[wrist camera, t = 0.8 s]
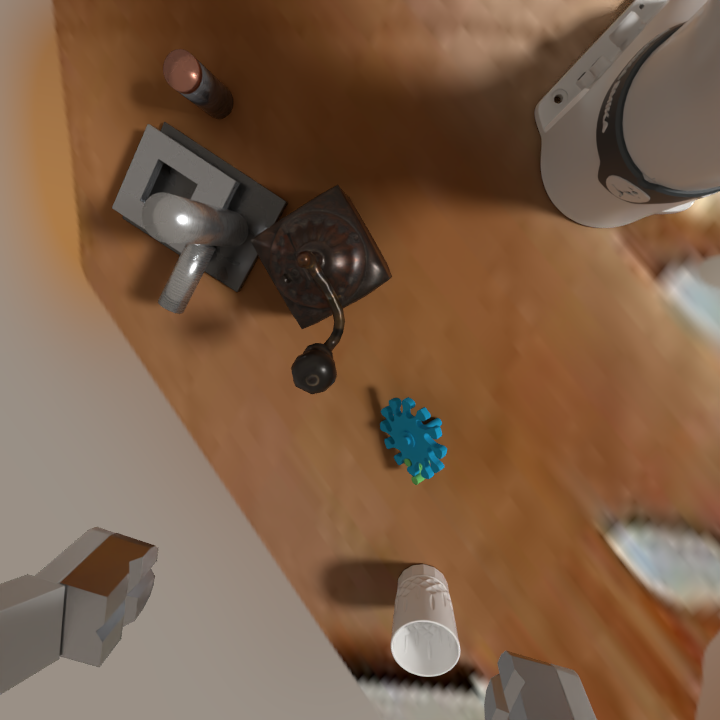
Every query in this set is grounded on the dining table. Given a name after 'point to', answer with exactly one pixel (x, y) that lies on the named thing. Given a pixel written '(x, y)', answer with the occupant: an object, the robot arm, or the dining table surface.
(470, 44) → the dining table surface
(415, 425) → the gear
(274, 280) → the dark brown coffee grinder
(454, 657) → the white cup
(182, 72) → the pin
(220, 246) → the pipe elbow on plate
